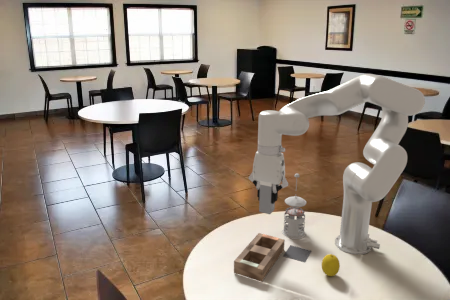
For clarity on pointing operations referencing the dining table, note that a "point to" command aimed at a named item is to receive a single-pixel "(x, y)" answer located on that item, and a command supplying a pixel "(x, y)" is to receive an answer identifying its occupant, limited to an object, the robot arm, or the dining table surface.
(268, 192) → the plug
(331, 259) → the lemon
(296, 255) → the mat
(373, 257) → the dining table surface
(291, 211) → the french press
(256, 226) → the dining table surface
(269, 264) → the socket block
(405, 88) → the robot arm
